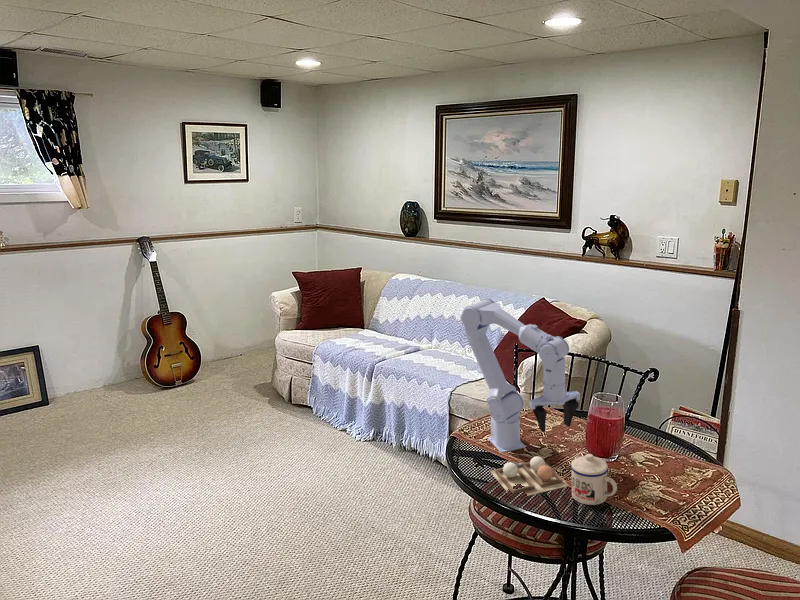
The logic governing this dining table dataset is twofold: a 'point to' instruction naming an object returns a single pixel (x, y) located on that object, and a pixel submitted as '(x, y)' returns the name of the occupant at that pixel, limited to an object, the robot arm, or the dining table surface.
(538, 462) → the cream ball
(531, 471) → the trough board
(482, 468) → the dining table surface
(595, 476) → the teacup with lid
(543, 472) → the ball terracotta
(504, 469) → the cream ball
